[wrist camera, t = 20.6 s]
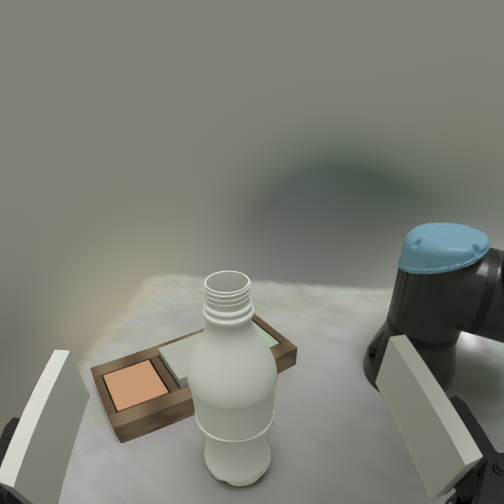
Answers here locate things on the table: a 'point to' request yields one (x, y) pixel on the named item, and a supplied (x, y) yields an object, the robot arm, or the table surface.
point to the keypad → (168, 388)
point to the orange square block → (134, 385)
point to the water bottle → (232, 382)
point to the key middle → (178, 358)
